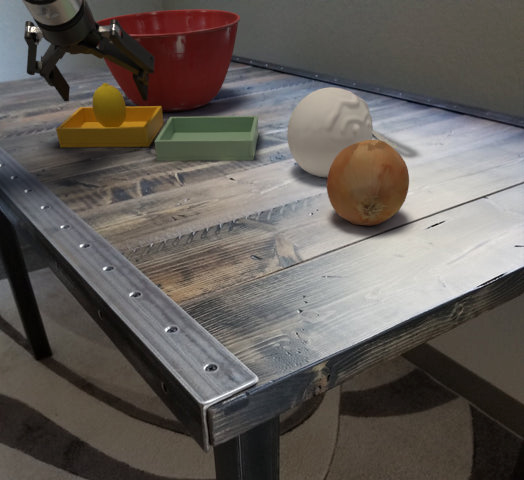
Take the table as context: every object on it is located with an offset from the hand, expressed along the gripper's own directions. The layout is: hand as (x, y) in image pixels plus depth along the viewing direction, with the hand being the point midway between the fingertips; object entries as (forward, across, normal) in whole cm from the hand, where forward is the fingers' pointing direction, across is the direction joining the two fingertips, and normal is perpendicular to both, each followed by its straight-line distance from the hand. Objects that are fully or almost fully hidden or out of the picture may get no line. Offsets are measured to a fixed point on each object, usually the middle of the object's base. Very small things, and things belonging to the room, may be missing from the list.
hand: (106, 93), depth 99 cm
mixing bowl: (+20, +8, +9) cm, 23 cm away
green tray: (0, +18, -10) cm, 21 cm away
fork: (+4, +45, -6) cm, 46 cm away
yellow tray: (+5, 0, -5) cm, 7 cm away
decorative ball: (-9, +37, -19) cm, 43 cm away
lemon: (+4, 0, -5) cm, 6 cm away
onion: (-20, +41, -30) cm, 55 cm away
